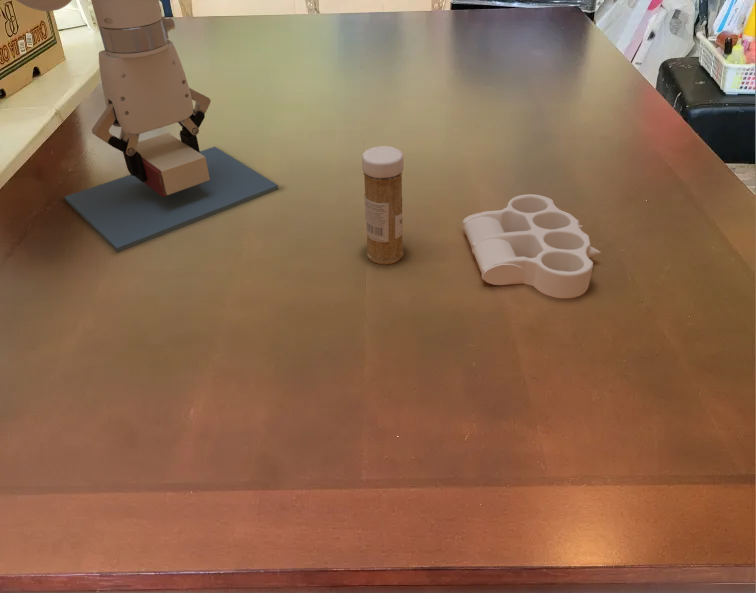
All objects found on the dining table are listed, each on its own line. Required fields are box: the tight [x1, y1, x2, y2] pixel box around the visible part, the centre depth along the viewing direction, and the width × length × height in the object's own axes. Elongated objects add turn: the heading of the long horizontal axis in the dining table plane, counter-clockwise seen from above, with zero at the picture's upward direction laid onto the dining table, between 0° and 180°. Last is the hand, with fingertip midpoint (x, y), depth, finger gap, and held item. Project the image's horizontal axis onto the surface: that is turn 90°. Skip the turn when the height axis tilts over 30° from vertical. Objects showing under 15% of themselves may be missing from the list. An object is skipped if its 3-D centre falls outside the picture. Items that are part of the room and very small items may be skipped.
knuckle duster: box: [461, 193, 602, 299], centre depth 78 cm, size 3×18×15 cm
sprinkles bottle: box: [361, 145, 404, 266], centre depth 76 cm, size 5×5×14 cm
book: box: [122, 132, 210, 197], centre depth 90 cm, size 11×7×4 cm, turn 41°
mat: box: [64, 146, 279, 253], centre depth 93 cm, size 24×18×1 cm
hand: (166, 168), depth 91 cm, fingers closed on book, 7 cm apart
